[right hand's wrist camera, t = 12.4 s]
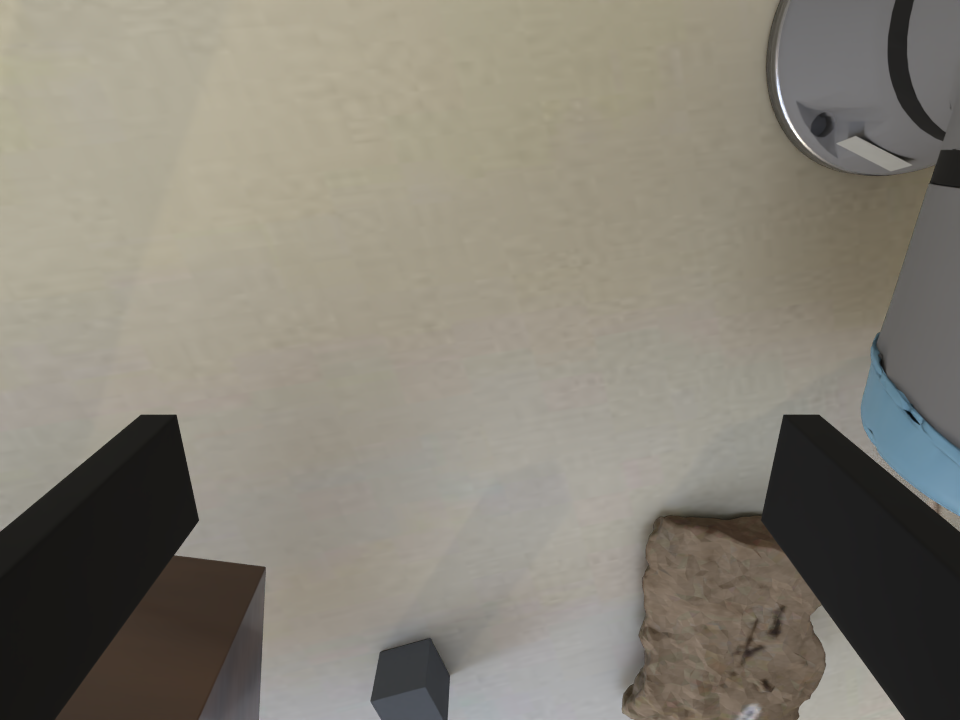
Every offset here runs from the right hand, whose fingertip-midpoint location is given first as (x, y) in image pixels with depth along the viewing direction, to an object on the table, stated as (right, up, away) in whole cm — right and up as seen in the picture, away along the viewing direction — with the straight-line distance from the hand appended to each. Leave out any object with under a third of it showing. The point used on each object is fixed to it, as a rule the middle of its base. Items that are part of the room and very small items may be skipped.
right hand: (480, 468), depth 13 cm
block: (-6, -26, +41) cm, 49 cm away
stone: (+20, -19, +38) cm, 47 cm away
